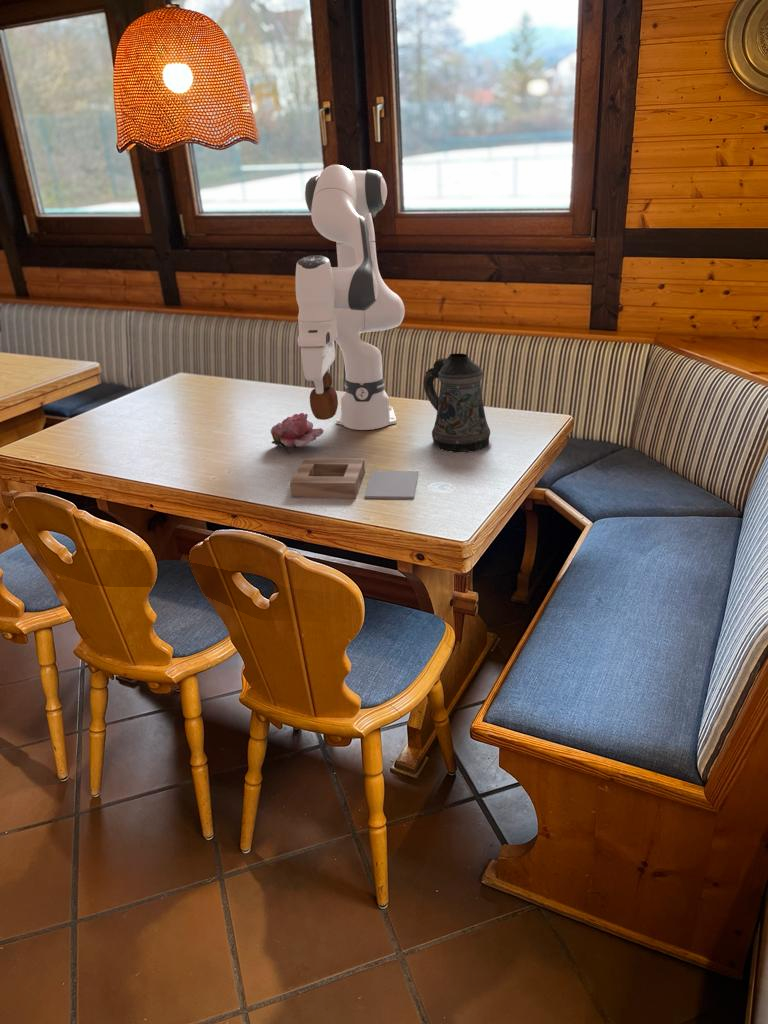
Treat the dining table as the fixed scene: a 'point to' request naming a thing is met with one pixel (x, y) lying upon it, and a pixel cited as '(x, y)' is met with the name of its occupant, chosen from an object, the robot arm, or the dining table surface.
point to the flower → (294, 431)
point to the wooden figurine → (324, 400)
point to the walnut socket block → (328, 478)
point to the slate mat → (392, 485)
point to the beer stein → (457, 404)
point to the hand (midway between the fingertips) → (322, 389)
